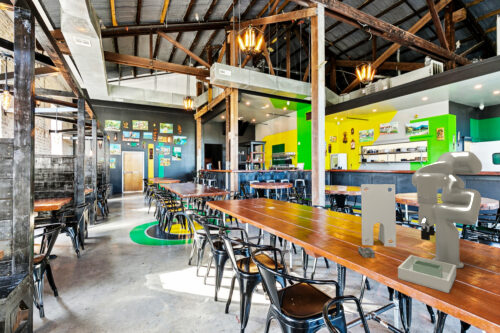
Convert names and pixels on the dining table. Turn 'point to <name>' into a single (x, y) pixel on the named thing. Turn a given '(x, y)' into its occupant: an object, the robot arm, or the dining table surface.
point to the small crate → (427, 268)
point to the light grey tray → (427, 280)
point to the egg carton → (366, 252)
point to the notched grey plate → (378, 213)
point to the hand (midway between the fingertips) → (427, 237)
